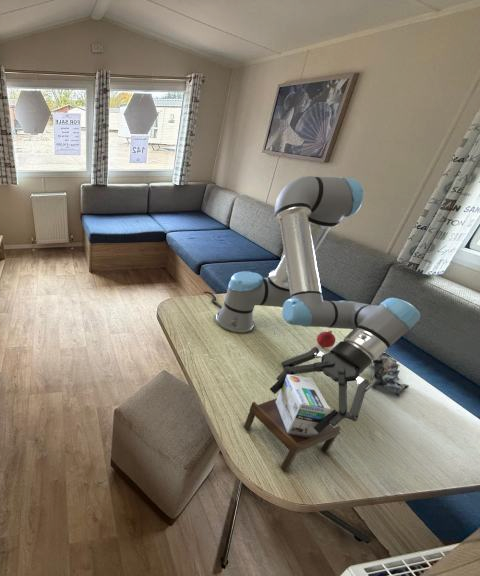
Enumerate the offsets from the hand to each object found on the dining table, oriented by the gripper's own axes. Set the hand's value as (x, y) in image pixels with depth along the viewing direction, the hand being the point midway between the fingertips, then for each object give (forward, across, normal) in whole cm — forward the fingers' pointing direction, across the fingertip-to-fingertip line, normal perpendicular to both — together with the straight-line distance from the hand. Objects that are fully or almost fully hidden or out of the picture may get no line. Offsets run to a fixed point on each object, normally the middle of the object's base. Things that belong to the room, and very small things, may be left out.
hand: (292, 409), depth 79 cm
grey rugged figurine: (-30, -5, +48) cm, 56 cm away
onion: (-28, -25, +46) cm, 60 cm away
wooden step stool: (+7, 0, +11) cm, 13 cm away
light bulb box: (+2, 0, +5) cm, 6 cm away
